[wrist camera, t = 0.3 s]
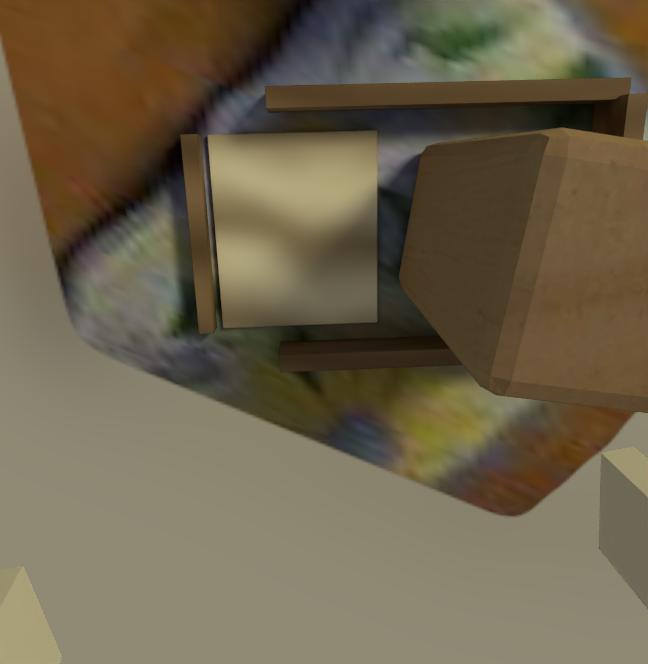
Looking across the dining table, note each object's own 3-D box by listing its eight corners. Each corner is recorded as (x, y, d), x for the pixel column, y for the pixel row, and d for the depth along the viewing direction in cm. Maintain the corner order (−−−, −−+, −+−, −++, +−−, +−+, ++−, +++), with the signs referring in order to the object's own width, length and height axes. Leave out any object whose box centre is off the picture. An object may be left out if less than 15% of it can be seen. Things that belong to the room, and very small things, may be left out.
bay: (181, 94, 36) (167, 86, 32) (614, 83, 37) (651, 74, 33) (205, 360, 41) (196, 380, 37) (585, 345, 42) (613, 364, 38)
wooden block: (528, 305, 41) (728, 431, 22) (393, 287, 40) (479, 402, 21) (564, 163, 38) (828, 166, 19) (420, 141, 38) (546, 120, 18)
